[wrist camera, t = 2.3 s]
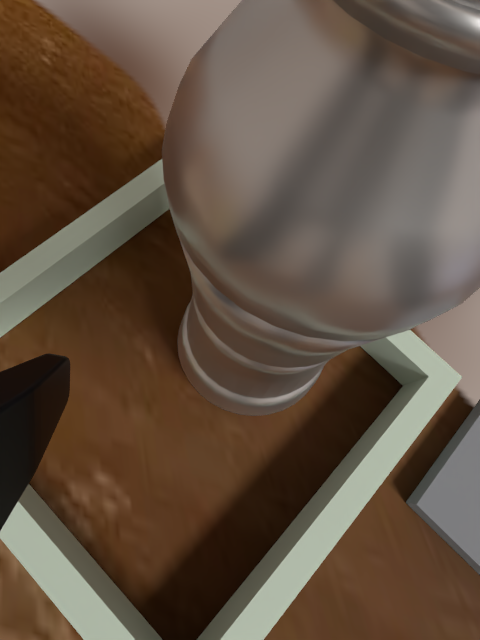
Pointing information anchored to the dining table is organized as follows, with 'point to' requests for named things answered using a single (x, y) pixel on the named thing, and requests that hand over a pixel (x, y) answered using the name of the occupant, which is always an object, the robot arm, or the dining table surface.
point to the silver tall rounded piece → (322, 186)
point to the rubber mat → (455, 492)
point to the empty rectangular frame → (306, 529)
